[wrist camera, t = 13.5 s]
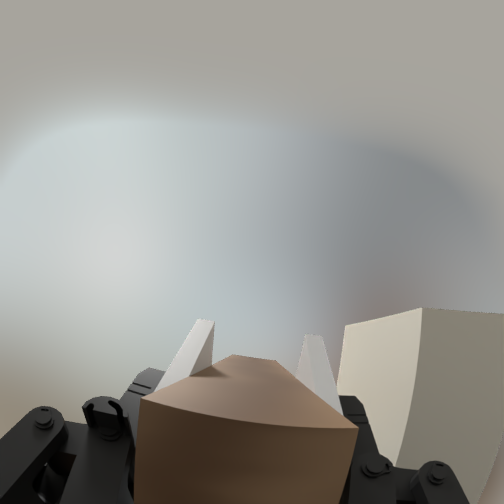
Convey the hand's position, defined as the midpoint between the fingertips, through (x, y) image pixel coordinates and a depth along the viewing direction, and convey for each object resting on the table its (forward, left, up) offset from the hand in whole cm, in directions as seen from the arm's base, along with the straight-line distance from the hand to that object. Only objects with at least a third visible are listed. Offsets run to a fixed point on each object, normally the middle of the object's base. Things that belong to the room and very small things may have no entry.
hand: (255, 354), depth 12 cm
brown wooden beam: (0, +3, -4) cm, 5 cm away
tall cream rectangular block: (+14, +8, -27) cm, 31 cm away
